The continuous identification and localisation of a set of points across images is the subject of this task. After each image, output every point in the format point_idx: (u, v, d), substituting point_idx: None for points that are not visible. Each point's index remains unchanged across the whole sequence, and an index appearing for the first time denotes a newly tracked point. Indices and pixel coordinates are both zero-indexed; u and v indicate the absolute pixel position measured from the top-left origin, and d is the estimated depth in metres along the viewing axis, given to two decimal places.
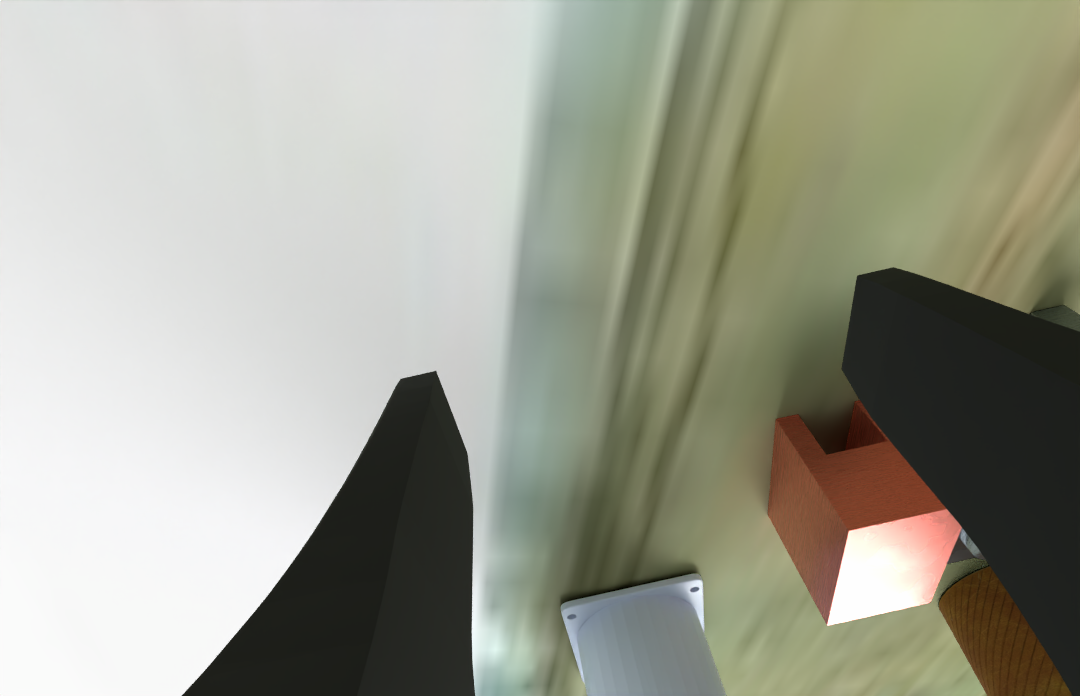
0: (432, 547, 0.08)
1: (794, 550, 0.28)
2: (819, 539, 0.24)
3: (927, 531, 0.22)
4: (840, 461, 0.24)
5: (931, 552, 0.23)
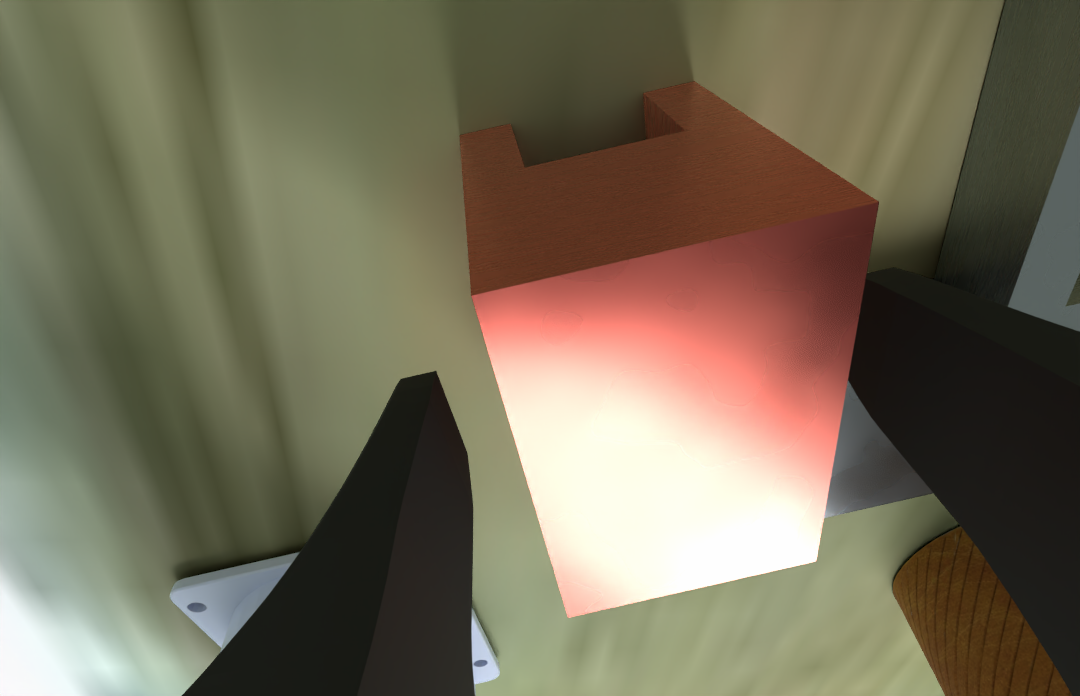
0: (432, 547, 0.08)
1: None
2: None
3: (751, 319, 0.07)
4: (549, 172, 0.09)
5: (783, 404, 0.08)
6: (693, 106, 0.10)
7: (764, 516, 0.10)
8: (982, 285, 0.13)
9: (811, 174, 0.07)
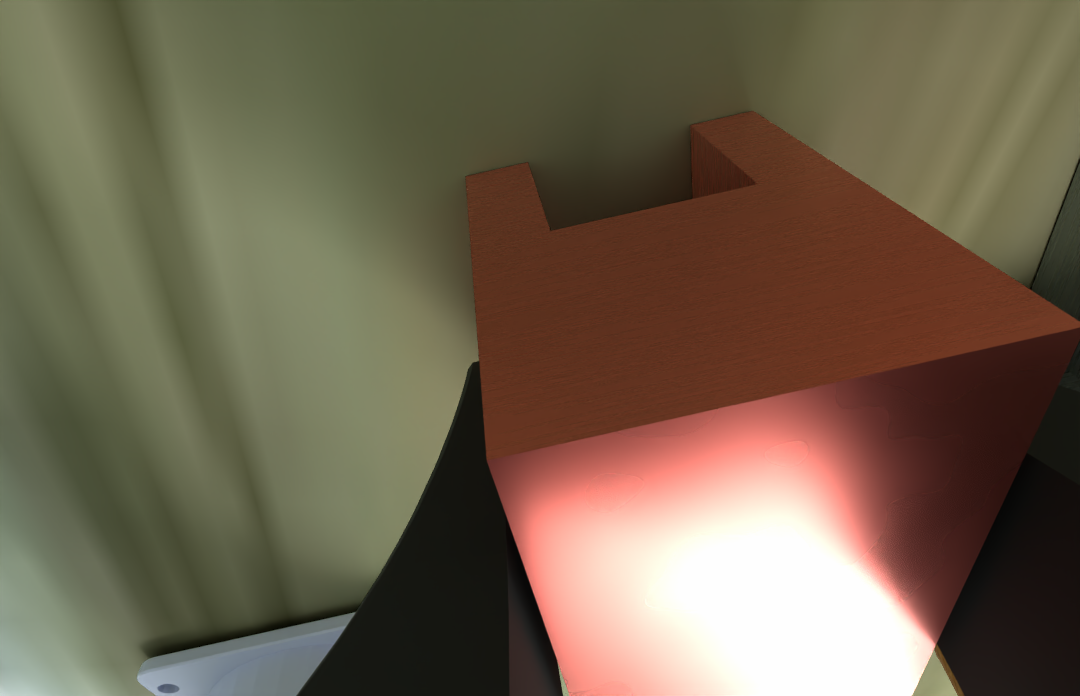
0: None
1: None
2: None
3: (877, 471, 0.05)
4: (584, 241, 0.07)
5: (899, 561, 0.06)
6: (760, 147, 0.08)
7: (852, 672, 0.08)
8: None
9: (960, 267, 0.05)
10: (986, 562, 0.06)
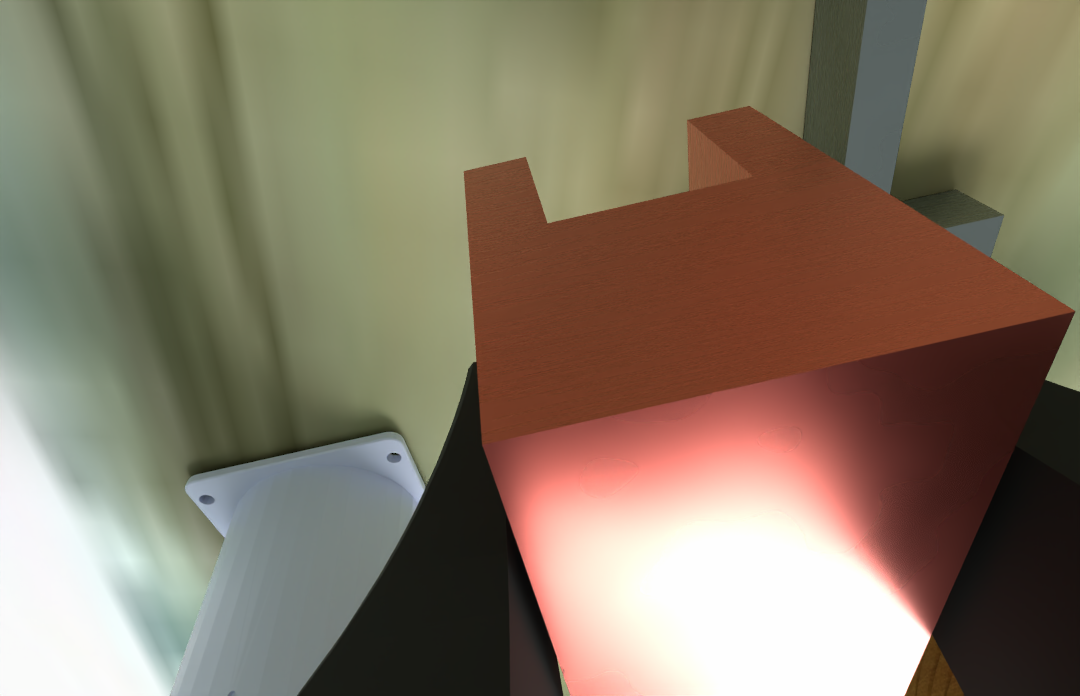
0: None
1: None
2: None
3: (870, 457, 0.05)
4: (580, 233, 0.07)
5: (893, 549, 0.06)
6: (756, 141, 0.08)
7: (848, 662, 0.08)
8: None
9: (952, 255, 0.05)
10: (986, 562, 0.06)
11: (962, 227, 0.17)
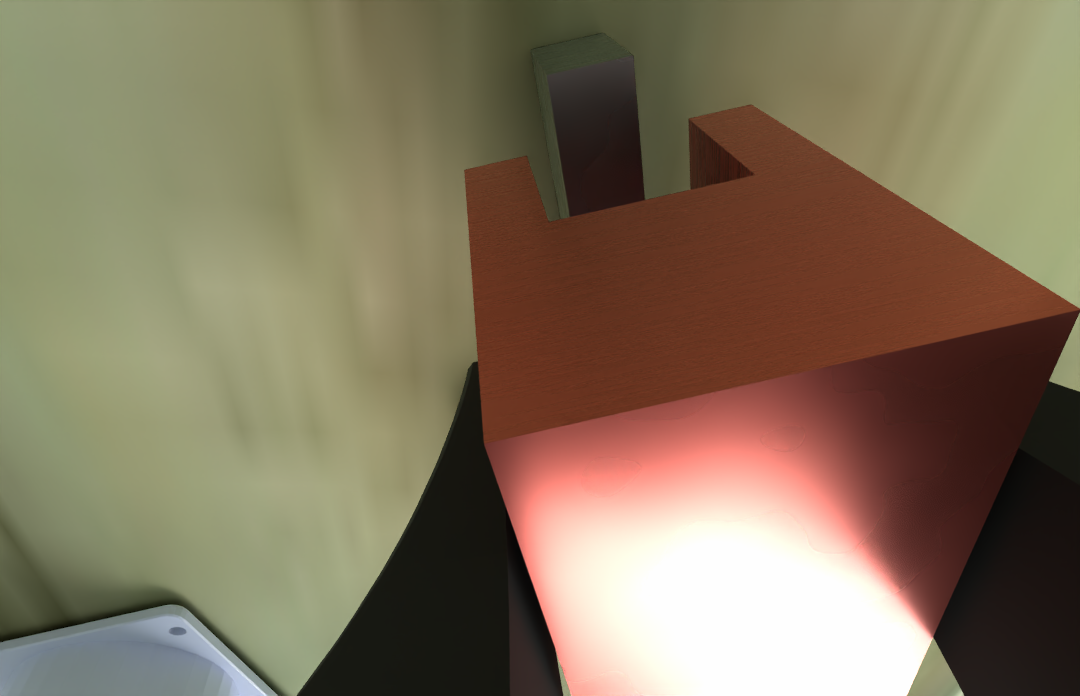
0: None
1: None
2: None
3: (873, 456, 0.05)
4: (582, 231, 0.07)
5: (896, 549, 0.06)
6: (758, 140, 0.08)
7: (850, 662, 0.08)
8: None
9: (956, 254, 0.05)
10: (986, 562, 0.06)
11: None
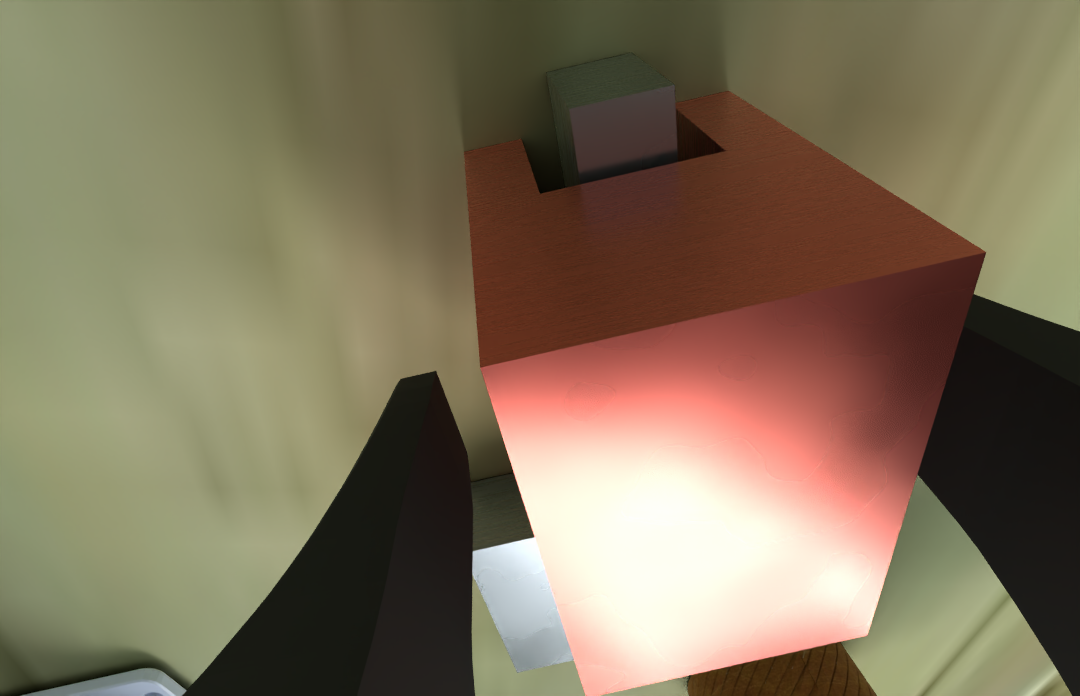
0: (432, 547, 0.08)
1: None
2: None
3: (817, 386, 0.06)
4: (569, 201, 0.08)
5: (846, 478, 0.07)
6: (731, 121, 0.09)
7: (814, 593, 0.08)
8: None
9: (890, 211, 0.06)
10: None
11: None
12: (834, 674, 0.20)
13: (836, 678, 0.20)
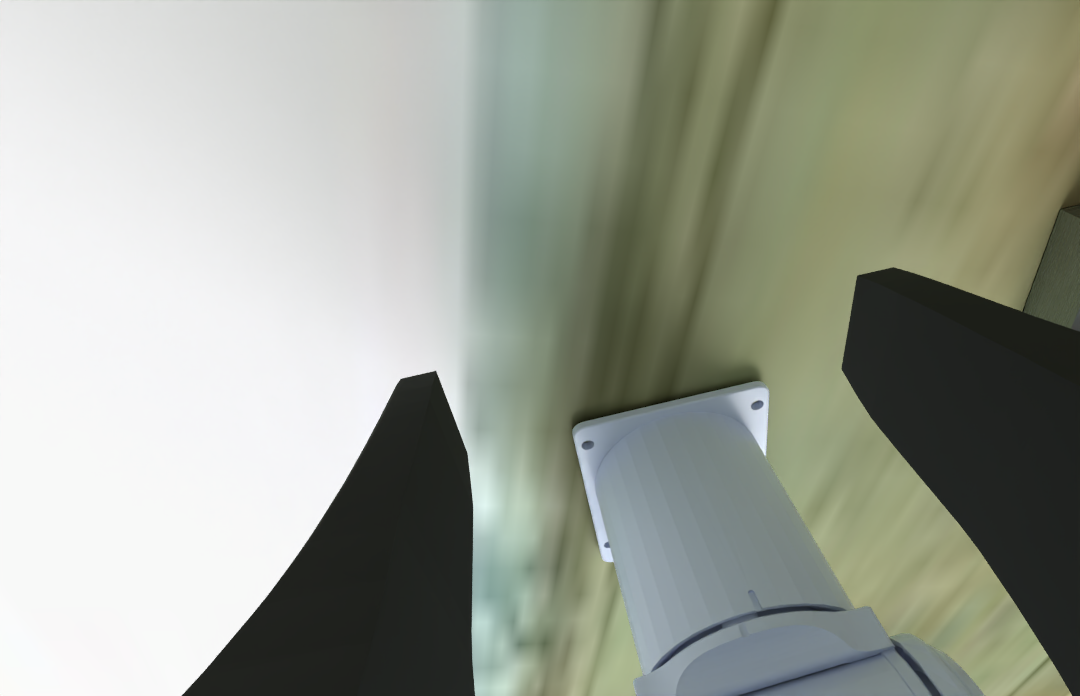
0: (432, 547, 0.08)
1: None
2: None
3: None
4: None
5: None
6: None
7: None
8: None
9: None
10: None
11: None
12: None
13: None
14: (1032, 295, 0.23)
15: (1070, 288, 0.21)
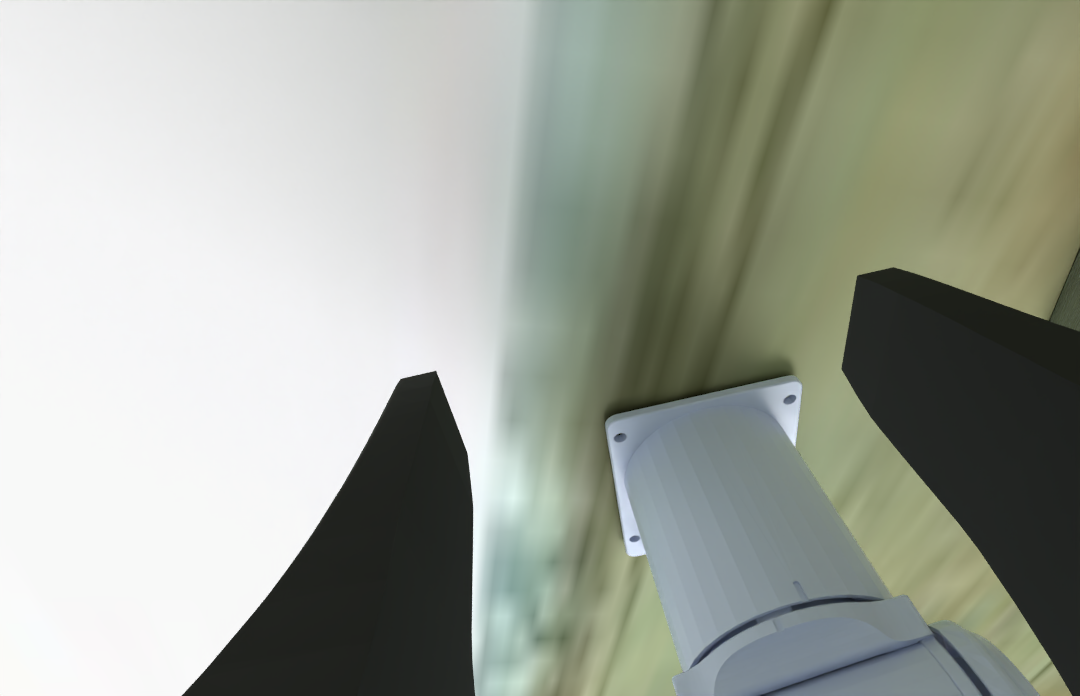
0: (432, 547, 0.08)
1: None
2: None
3: None
4: None
5: None
6: None
7: None
8: None
9: None
10: None
11: None
12: None
13: None
14: (1064, 293, 0.23)
15: None
